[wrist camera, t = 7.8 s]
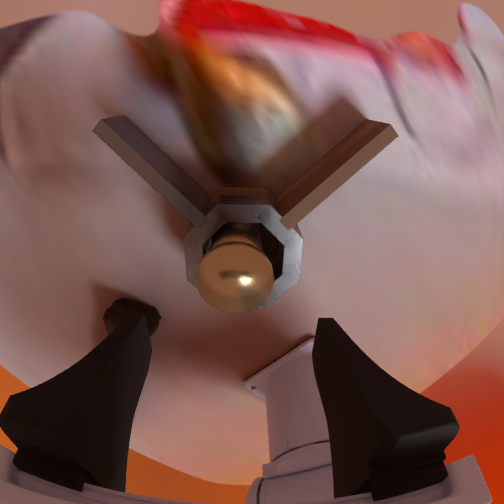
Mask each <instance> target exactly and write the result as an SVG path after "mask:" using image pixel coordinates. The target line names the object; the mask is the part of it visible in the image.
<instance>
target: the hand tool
mask: <svg viewBox="0 0 504 504" xmlns="http://www.w3.org/2000/svg"><path fill="white" fill-rule="evenodd" d="M131 313H133V314H145V319H146V324H147V329H148V334H149V337H150V336H152V335H153V334H154V333H155V331H156V330H157V328H158V325H159V320H160V319H161V316H160V314H159V313H158V311H157V310H156V308H154V307H151V306H148V305H145V304H143V303H141V302H138V301H135V300H131V299H125V298H123V299H117V300H116V301H114V303H113V304H112V306H111V307H109V308H108V309H107V310H106V311H105V313H104V316H103V319H104V323H105V327H106V329H107V331H108V334H111V333H112V332H113V331H114V330H115V329H116V328H117V327H118V326H119V325H120V324H121V323H122V322H123V321H124V320H125V319H126V318H127V317H128V316H129V315H130V314H131Z"/></svg>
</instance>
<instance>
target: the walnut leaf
mask: <svg viewBox="0 0 504 504" xmlns="http://www.w3.org/2000/svg"><path fill="white" fill-rule="evenodd" d="M397 137H398V134H397V133H396V131H395V130H394V129H393V127H392V126H391V124H387V123H383V122H378V121H373V120H368V119H367V120H366V121H365V122H363V123H362V124H361V125H360V126H359V127H357V128H356V129H355V130H354V131H353V132H352V133H350V134H349V135H348V136H347V137H346V138H345V139H343V140H342V141H341V142H340V143H339V144H338V145H336V146H335V147H334V148H333V149H332V150H331V151H329V152H328V153H327V154H326V155H325V156H324V157H323V158H321V159H320V160H319V161H318V162H317V163H316V164H314V165H313V166H312V167H311V168H310V169H309V170H308V171H306V172H305V173H304V174H303V175H302V176H301V177H300V178H298V179H297V180H296V181H295V182H294V183H293V184H292V185H291V186H289V187H288V188H287V189H286V190H285V191H284V192H283V193H281V194H280V195H279V196H278V197H277V198H275V197H274V196H273V194H272V193H271V192H270V191H269V190H268V189H267V188H258V187H222V188H221V189H220V190H219V191H218V192H217V193H216V194H215V195H214V196H213V197H212V198H211V201H210V204H211V203H213V202H214V201H215V200H216V199H217V198H218V197H219V196H220V195H264V196H269V197H270V198H271V199H272V200H273V201H274V202H275V203H276V204H277V206H278V207H279V209H280V212H281V215H282V218H281V219H280V220H279V221H280V222H281V223H282V224H283V225H284V226H285V227H286V228H287V230H288V231H289V230H290V229H291V228H292V227H293V226H295V225H297V223H298V222H299V221H300V220H302V219H303V218H304V217H305V216H306V215H307V214H309V213H310V212H311V211H312V210H313V209H314V208H316V207H317V206H318V205H319V204H320V203H321V202H323V201H324V200H325V199H326V198H327V197H328V196H330V195H331V194H332V193H333V192H334V191H335V190H337V189H338V188H339V187H340V186H341V185H342V184H343V183H345V182H346V181H347V180H348V179H349V178H350V177H352V176H353V175H354V174H355V173H356V172H357V171H359V170H360V169H361V168H362V167H363V166H364V165H366V164H367V163H368V162H369V161H370V160H371V159H372V158H374V157H375V156H376V155H377V154H378V153H379V152H381V151H382V150H383V149H384V148H385V147H386V146H387V145H389V144H390V143H391V142H392V141H393V140H394V139H396V138H397ZM210 204H209V205H210ZM190 224H191V222H190ZM190 224H189V225H190ZM297 226H298V225H297ZM280 245H281V242H280V241H279V240H278V239H277V249H276V250H275V251H273V252H272V253H271V254H270V255H269V256H268V259H269V260H270V262H271V265H272V267H273V266H274V265H275V264H276V263H278V262H279V259H280ZM209 250H210V248H209V239H208V240H207V241H206V253H207V252H208V251H209Z"/></svg>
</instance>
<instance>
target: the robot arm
mask: <svg viewBox="0 0 504 504" xmlns="http://www.w3.org/2000/svg"><path fill="white" fill-rule="evenodd" d="M151 352H152V348H151V344H150V339H149V334H148V329H147V324H146V319H145V314H133V313H131V314H130V315H129V316H128V317H127V318H126V319H125V320H124V321H123V322H122V323H121V324H120V325H119V326H118V327H117V328H116V329H115V330H114V331H113V332H112V333H111V334H109V335H108V336H107V337H106V338H105V339H104V340H103V341H102V342H101V343H100V344H99V345H98V346H96V347H95V348H94V349H93V350H92V351H91V352H90V353H88V354H87V355H86V356H85V357H84V358H82V359H81V360H80V361H78V362H77V363H75V364H74V365H73V366H71V367H70V368H68V369H67V370H65V371H63V372H62V373H60V374H58V375H57V376H55V377H53V378H51V379H50V380H48V381H46V382H44V383H42V384H39V385H37V386H35V387H33V388H30V389H28V390H25V391H22V392H20V393H17V394H14V395H11V396H10V397H9V399H8V401H7V403H6V404H5V406H4V408H3V410H2V412H1V414H0V427H1V429H2V430H3V431H4V433H5V434H6V435H7V436H8V437H9V439H10V440H11V441H12V442H13V443H14V444H15V445H16V447H17V448H18V450H17V452H16V454H15V453H14V452H12V451H11V450H9V449H7V448H5V447H2V446H0V504H206V503H193V502H183V501H174V500H166V499H159V498H152V497H146V496H140V495H135V494H129V493H125V485H126V468H127V457H128V449H129V441H130V435H131V429H132V423H133V418H134V414H135V410H136V407H137V404H138V401H139V397H140V394H141V391H142V388H143V385H144V382H145V379H146V376H147V372H148V368H149V363H150V358H151ZM244 386H245V387H246V388H247V389H249V390H250V391H252V392H254V393H255V394H257V395H259V396H260V397H262V398H264V399H265V400H266V409H267V423H268V438H269V453H270V463H268V464H264V465H262V469H263V477H258V478H256V479H255V480H254V481H253V482H252V484H251V487H250V488H249V490H248V492H247V496H246V502H245V504H490V503H491V502H492V498H491V495H490V493H489V490H488V488H487V485H486V483H485V480H484V478H483V475H482V473H481V471H480V468H479V466H478V464H477V462H476V459H475V457H474V455H470V456H468V457H465V458H463V459H460V460H457V461H454V462H452V463H450V464H449V465H447V466H445V465H444V462H443V460H445V458H446V455H445V453H444V449H445V448H446V447H447V446H448V445H449V443H450V442H451V441H452V440H453V439H454V438H455V436H456V435H457V433H458V431H459V424H458V422H457V420H456V418H455V416H454V414H453V412H452V410H451V409H450V408H449V407H447V406H445V405H442V404H440V403H437V402H435V401H432V400H430V399H428V398H426V397H424V396H422V395H420V394H418V393H416V392H415V391H413V390H411V389H410V388H408V387H406V386H405V385H403V384H402V383H400V382H399V381H397V380H396V379H394V378H393V377H392V376H390V375H389V374H388V373H386V372H385V371H384V370H383V369H381V368H380V367H379V366H378V365H377V364H376V363H374V362H373V361H372V360H371V359H370V358H369V357H368V356H367V355H366V354H365V353H364V352H363V351H362V350H361V349H360V348H359V347H358V346H357V345H356V344H355V343H354V342H353V340H352V339H351V338H350V337H349V336H348V335H347V334H346V333H345V331H344V330H343V329H342V328H341V327H340V326H339V324H338V323H337V322H336V321H335V320H334V319H333V318H318V324H317V329H316V334H315V338H310V339H308V340H307V341H305V342H304V343H302V344H301V345H299V346H298V347H296V348H295V349H294V350H292V351H291V352H289V353H288V354H286V355H285V356H283V357H282V358H280V359H279V360H277V361H275V362H274V363H272V364H271V365H269V366H268V367H266V368H265V369H263V370H261V371H260V372H258V373H257V374H255V375H254V376H252V377H250V378H249V379H247V380H246V381H245V382H244ZM252 386H254V387H252Z"/></svg>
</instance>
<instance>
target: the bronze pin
mask: <svg viewBox="0 0 504 504" xmlns="http://www.w3.org/2000/svg"><path fill="white" fill-rule="evenodd" d="M196 282H197V287H198V290H199V292H200V294H201V296H202V297H203V298H204V300H205V301H206V302H207V303H209V304H210V305H211V306H213V307H215V308H216V309H219V310H221V311H225V312H230V313H241V312H247V311H250V310H253V309H255V308H257V307H259V306H260V305H261V304H263V303H264V302H265V301H266V300H267V298H268V297H269V296H270V294H271V292H272V289H273V286H274V275H273V269H272V265H271V262H270V260H269V259H268V257H267V256H266V254H265V253H264V252H263V251H262V244H261V236H260V229H259V226H258V224H257V223H231V222H226V223H225V224H224V225H223V226H222V227H221V228H220V229H219V230H217V231H216V232H215V233H214V234H213V238H212V243H211V248H210V250H209V251H208V252H207V253H206V254H205V255H204V256H203V258H202V259H201V261H200V264H199V267H198V271H197V277H196Z"/></svg>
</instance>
